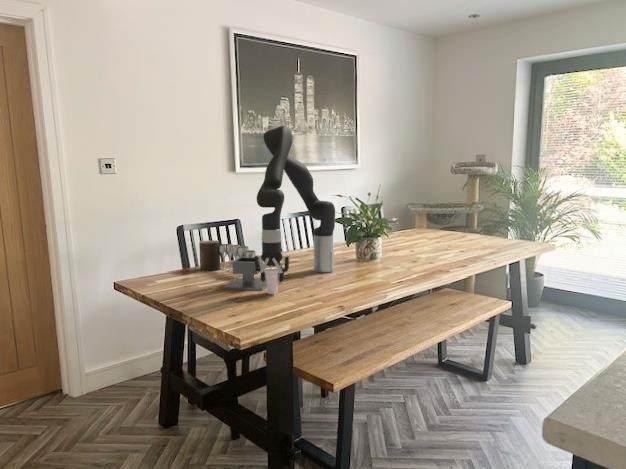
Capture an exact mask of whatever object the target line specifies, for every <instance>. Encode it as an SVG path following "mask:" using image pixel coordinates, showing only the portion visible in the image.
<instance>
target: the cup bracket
mask: <svg viewBox="0 0 626 469" xmlns="http://www.w3.org/2000/svg"><path fill="white" fill-rule="evenodd" d="M259 262H260V268H262V266H263V264H264V261H263V260H262V259H261V260H260V261H259ZM231 266H232V268H231V269H232V270H233V272H232V274H233V275H239V274H242V275H243V276H242V277H236V278H234V279H233V280H231V281H230V283H227V284H226V285H225V286H223V287H224V290H229V291H231V290H233V291H235V290H236V291H256V292H257V291H259V292H260V291H264V289H265V288H267V283H266V278H265V282H262V280H261V278H259V277H258V278H257V277H255V278H254V276H255V275H258V274H260V272H259V271H256V268H255V260H254V257H239V258H238V259H236V260H235V259H234V260H233V261H232V263H231Z"/></svg>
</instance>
